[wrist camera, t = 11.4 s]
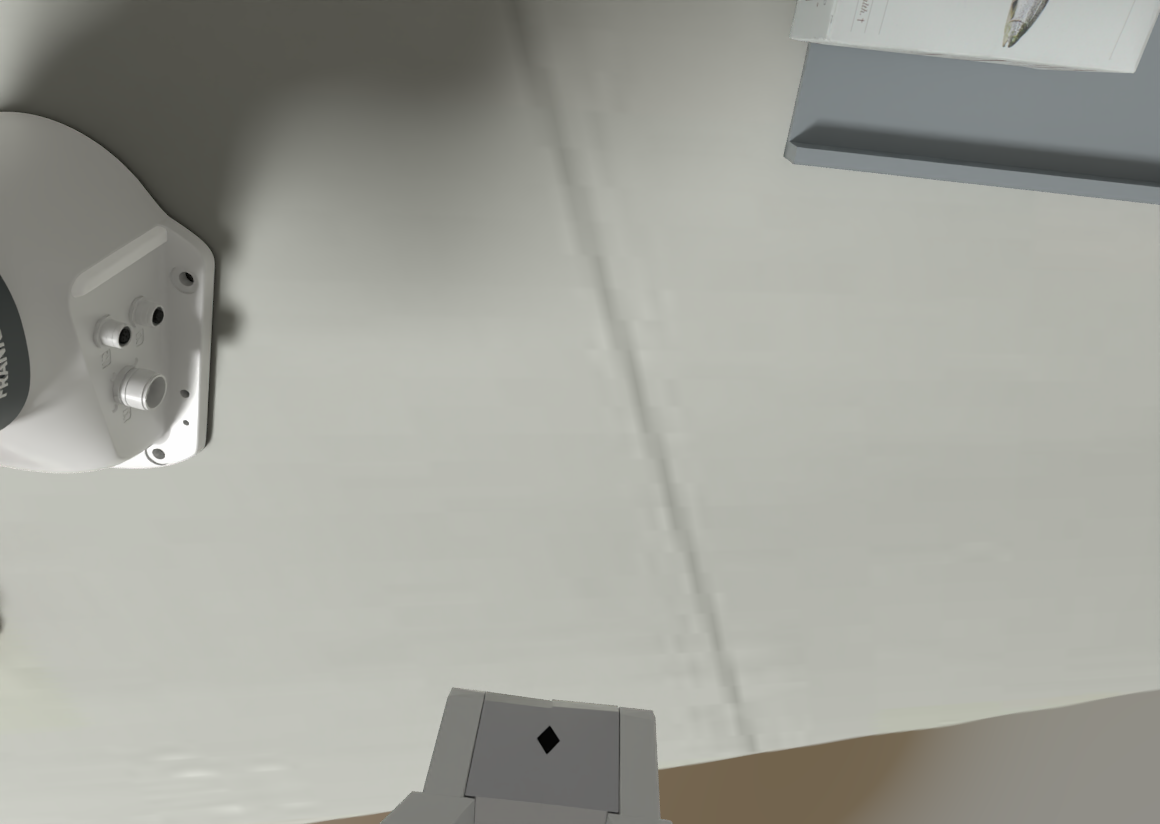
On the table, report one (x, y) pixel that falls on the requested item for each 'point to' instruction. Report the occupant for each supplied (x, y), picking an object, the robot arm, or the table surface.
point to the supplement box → (988, 30)
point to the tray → (982, 122)
